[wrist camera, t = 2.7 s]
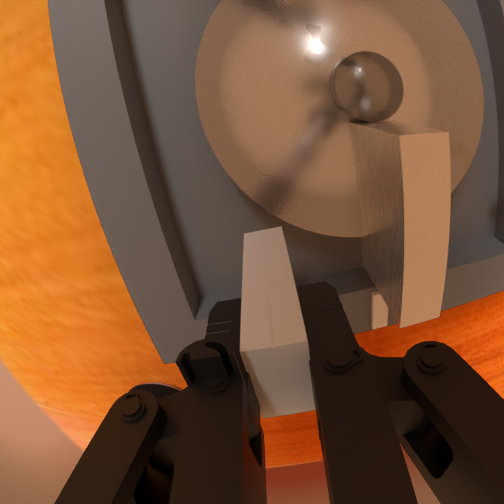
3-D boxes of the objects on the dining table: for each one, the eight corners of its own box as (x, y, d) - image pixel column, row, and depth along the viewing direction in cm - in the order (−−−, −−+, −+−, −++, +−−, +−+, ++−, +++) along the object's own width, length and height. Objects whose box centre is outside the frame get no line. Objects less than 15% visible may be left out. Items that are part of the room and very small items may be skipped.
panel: (71, -40, 10) (42, -57, 7) (466, -73, 8) (492, -86, 5) (173, 331, 21) (163, 367, 18) (507, 259, 19) (532, 281, 16)
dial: (176, -13, 11) (129, -76, 5) (434, -26, 10) (510, -60, 4) (243, 268, 18) (240, 360, 11) (465, 224, 17) (536, 281, 10)
